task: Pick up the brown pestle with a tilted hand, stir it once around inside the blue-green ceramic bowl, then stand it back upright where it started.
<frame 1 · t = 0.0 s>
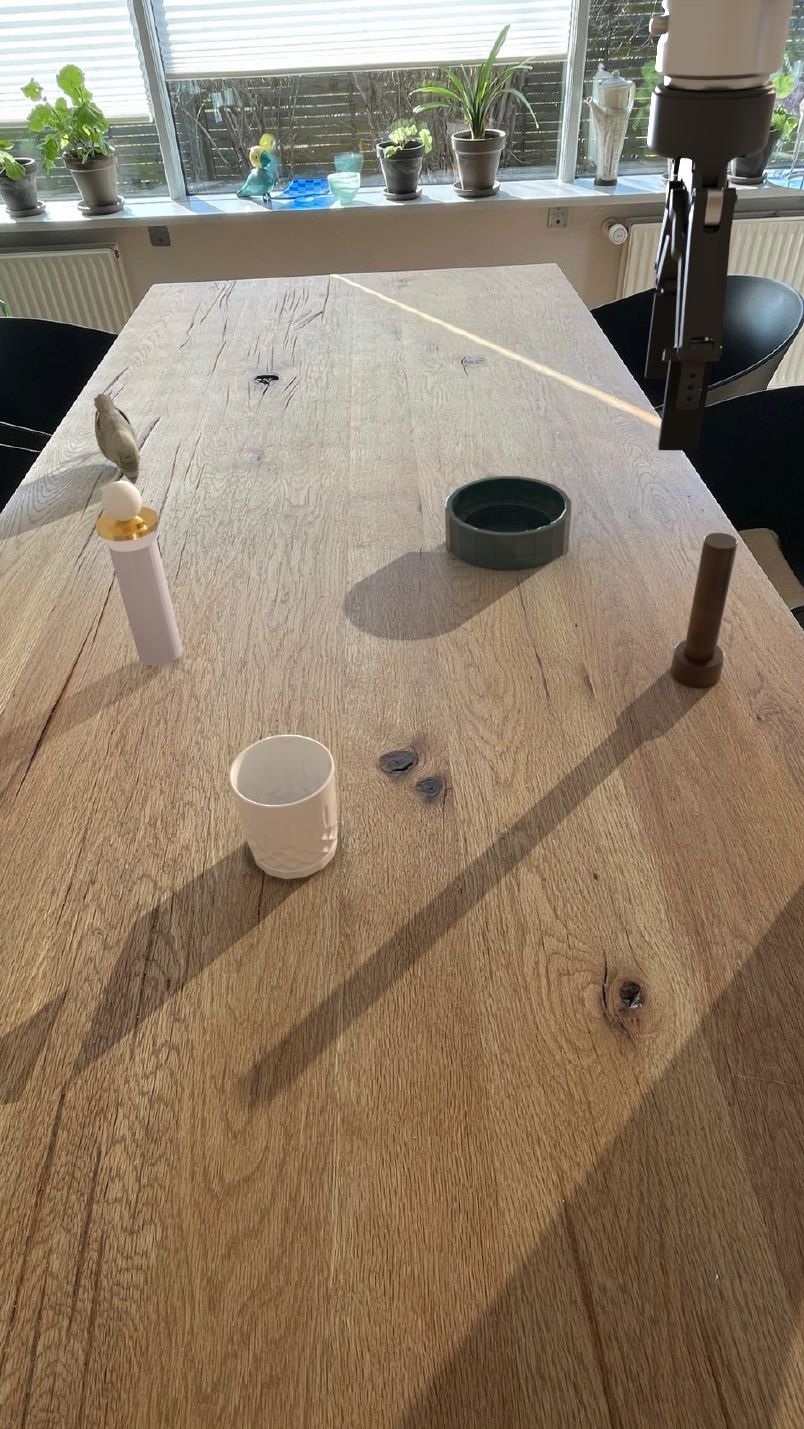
hand: (669, 410, 73), 28 cm above the table, tool pointing down, fingers open, 13 cm apart
brown pestle: (692, 685, 92), on the table
white cup: (297, 859, 78), on the table
bowl: (506, 549, 113), on the table
perfume bottle: (162, 660, 100), on the table
decorative bird: (123, 463, 137), on the table
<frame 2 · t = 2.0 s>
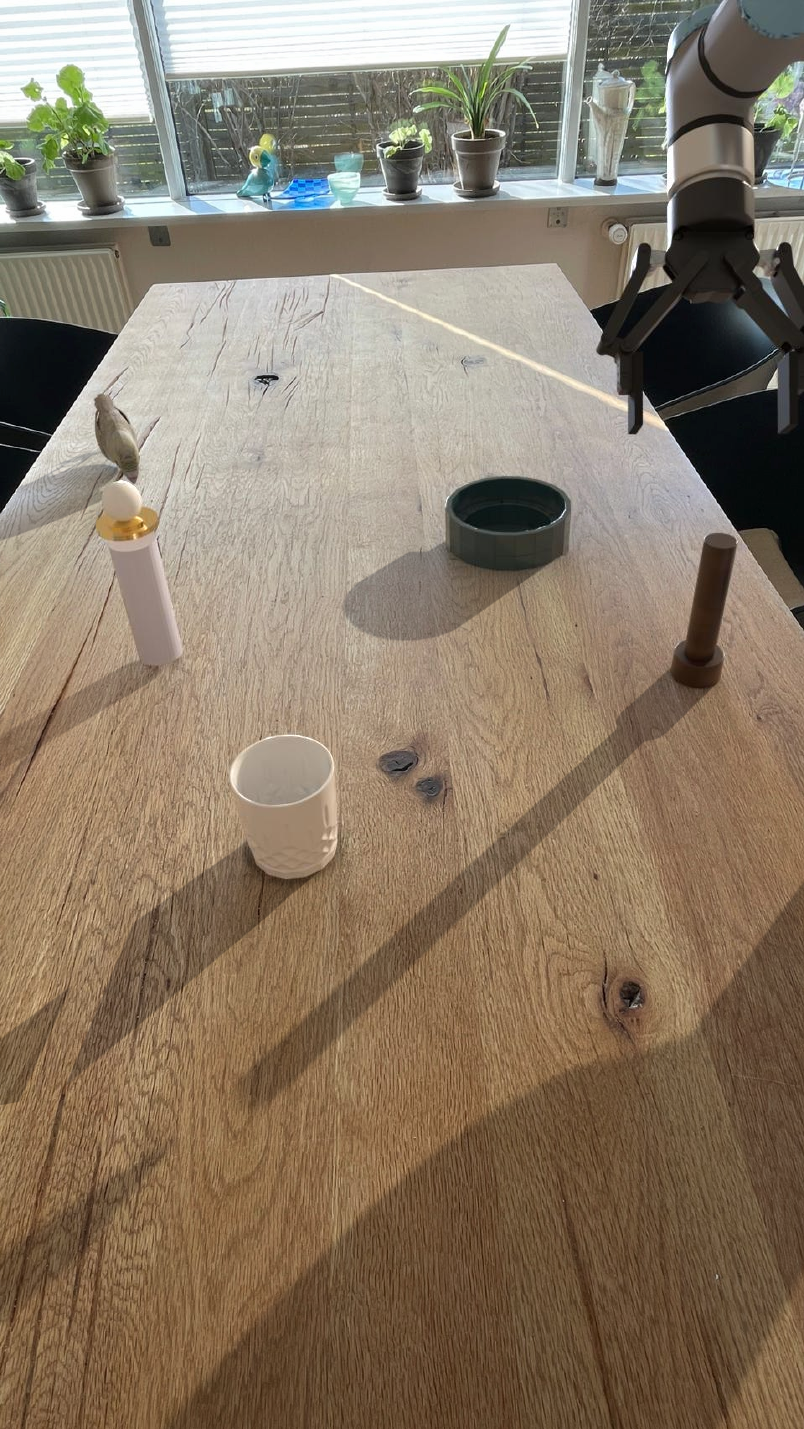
hand: (711, 430, 85), 22 cm above the table, tool tilted 40°, fingers open, 13 cm apart
nothing on the table moved.
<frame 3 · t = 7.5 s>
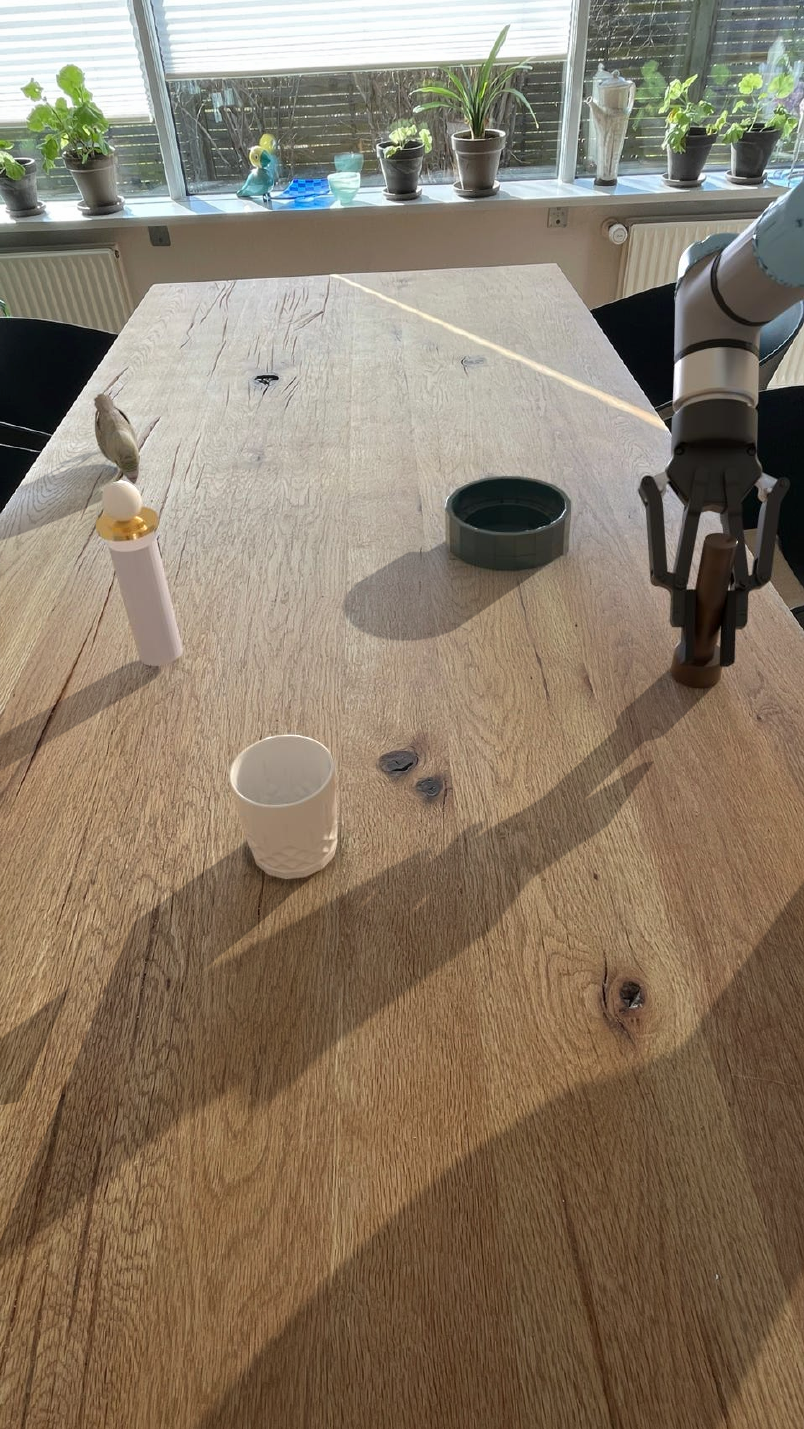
hand: (706, 663, 86), 6 cm above the table, tool tilted 45°, fingers closed on brown pestle, 3 cm apart
brown pestle: (692, 685, 92), on the table, touching gripper
everything else where it was.
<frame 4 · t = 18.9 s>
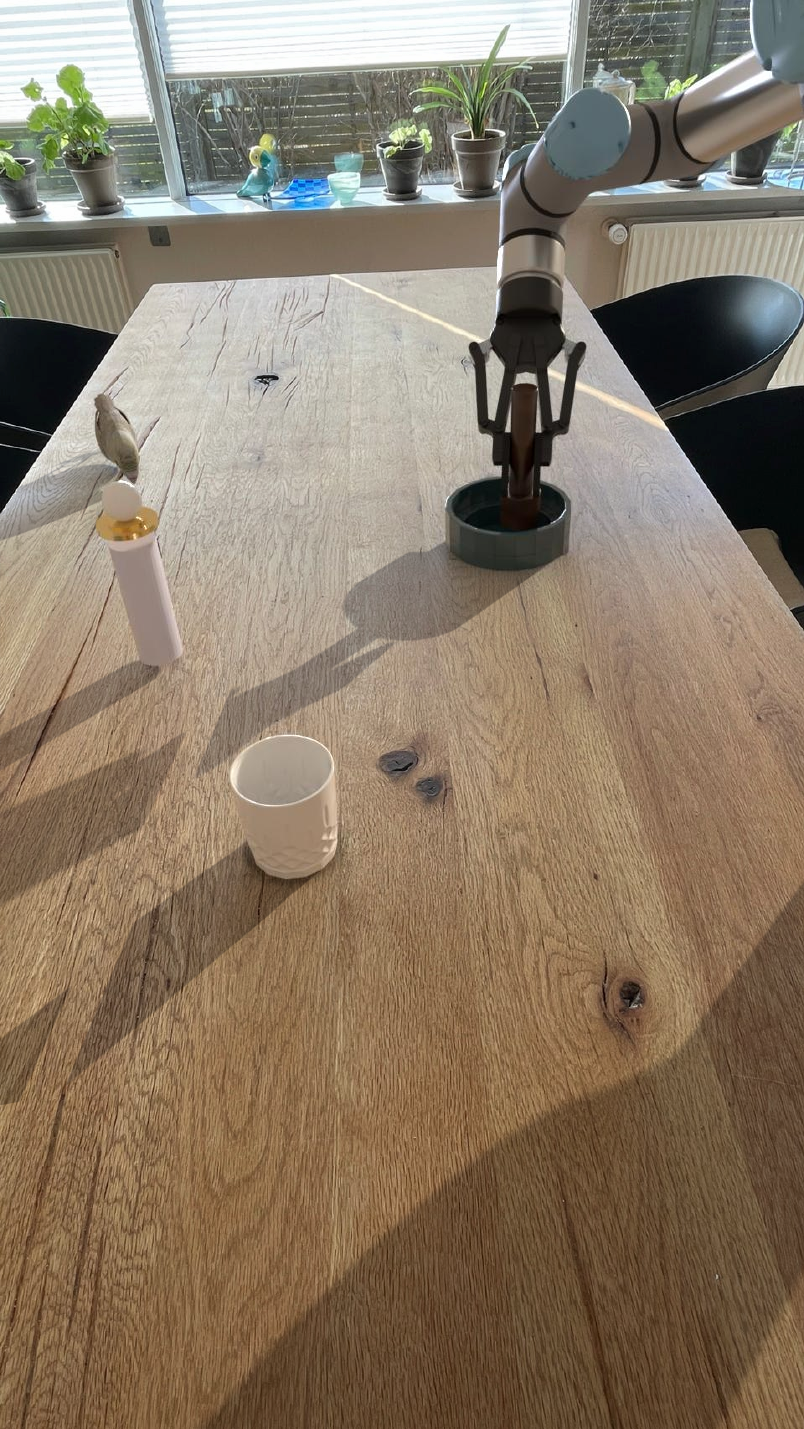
hand: (520, 493, 105), 9 cm above the table, tool tilted 45°, fingers closed on brown pestle, 3 cm apart
brown pestle: (519, 521, 112), point 3 cm above the table, touching gripper
everything else where it was.
when the fingers open (6 cm above the table, at t = 30.5 s): brown pestle stays where it is, on the table.
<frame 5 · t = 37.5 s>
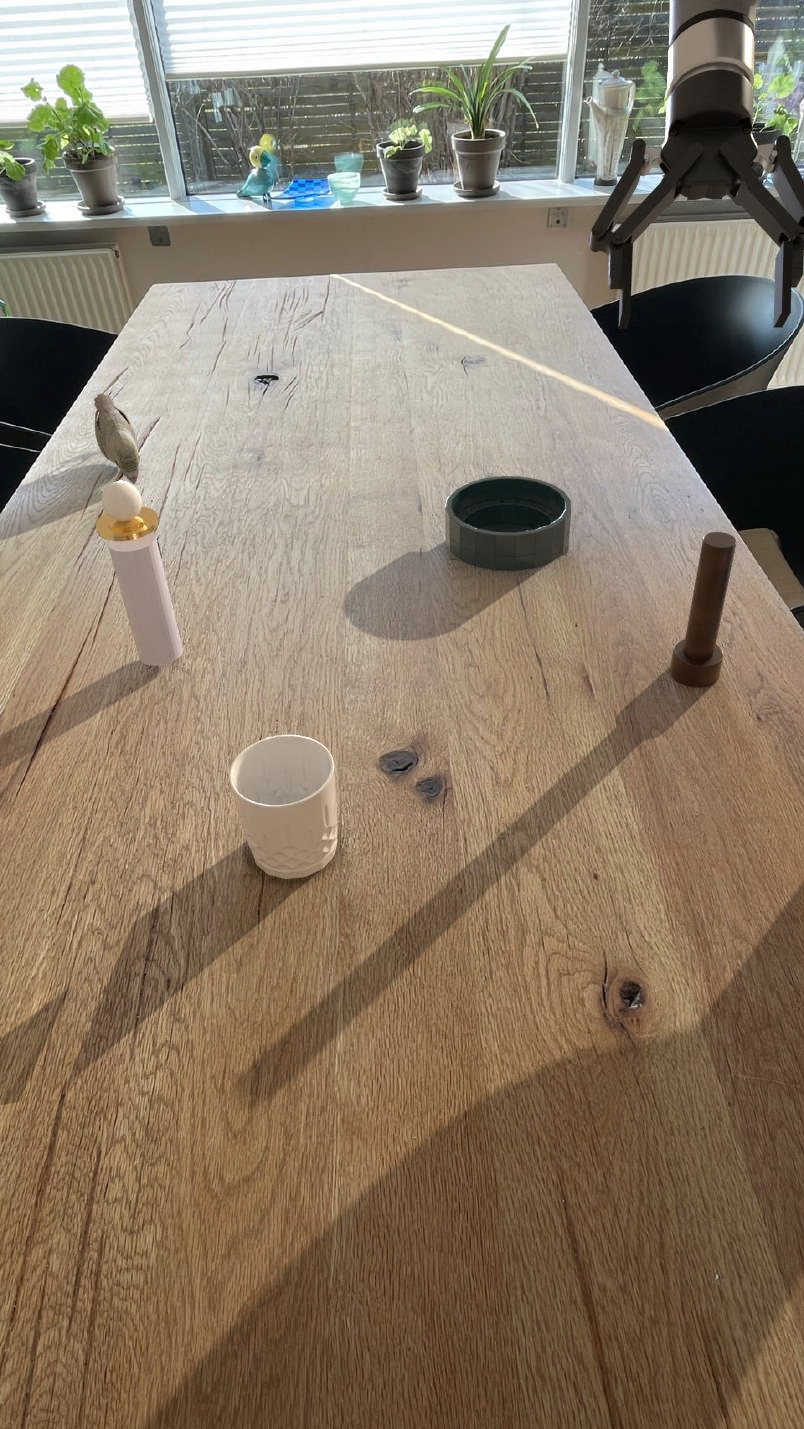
hand: (702, 321, 84), 30 cm above the table, tool tilted 45°, fingers open, 13 cm apart
brown pestle: (691, 684, 92), on the table
everything else where it was.
at the end: brown pestle tilted 0°; brown pestle inside the target area (0.2 cm from its centre), on the table; brown pestle touching table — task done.
